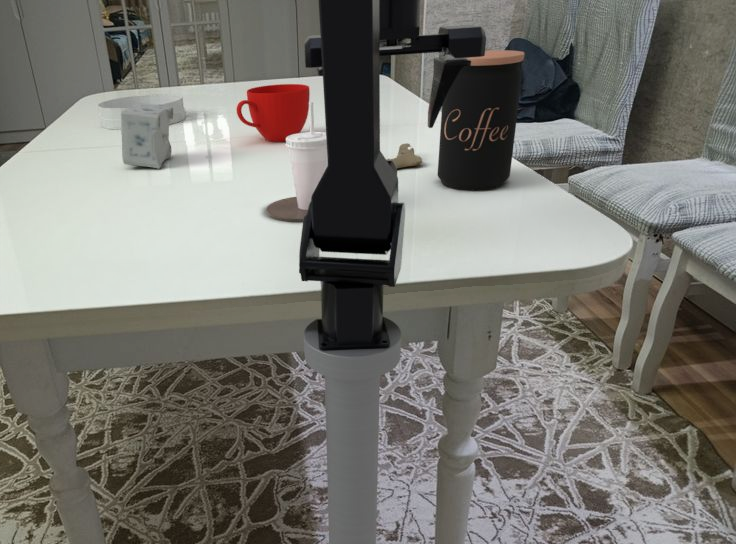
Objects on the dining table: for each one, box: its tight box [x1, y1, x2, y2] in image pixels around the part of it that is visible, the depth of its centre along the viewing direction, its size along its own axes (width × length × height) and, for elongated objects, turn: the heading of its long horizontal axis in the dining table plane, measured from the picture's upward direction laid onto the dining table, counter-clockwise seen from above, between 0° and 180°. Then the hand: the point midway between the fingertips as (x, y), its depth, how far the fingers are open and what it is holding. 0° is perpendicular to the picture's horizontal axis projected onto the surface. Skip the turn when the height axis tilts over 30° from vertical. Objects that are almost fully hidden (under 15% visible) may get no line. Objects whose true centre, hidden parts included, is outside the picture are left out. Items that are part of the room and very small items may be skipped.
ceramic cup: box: [236, 83, 311, 143], centre depth 132 cm, size 13×17×10 cm
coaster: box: [266, 196, 308, 223], centre depth 91 cm, size 11×11×1 cm
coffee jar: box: [437, 49, 525, 191], centre depth 94 cm, size 11×11×18 cm
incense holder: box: [120, 103, 173, 170], centre depth 120 cm, size 10×8×10 cm
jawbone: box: [385, 143, 423, 169], centre depth 109 cm, size 9×20×2 cm, turn 115°
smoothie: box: [285, 101, 328, 210], centre depth 88 cm, size 6×6×14 cm
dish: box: [97, 93, 187, 131], centre depth 165 cm, size 22×22×5 cm
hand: (389, 129), depth 73 cm, fingers open, 9 cm apart
